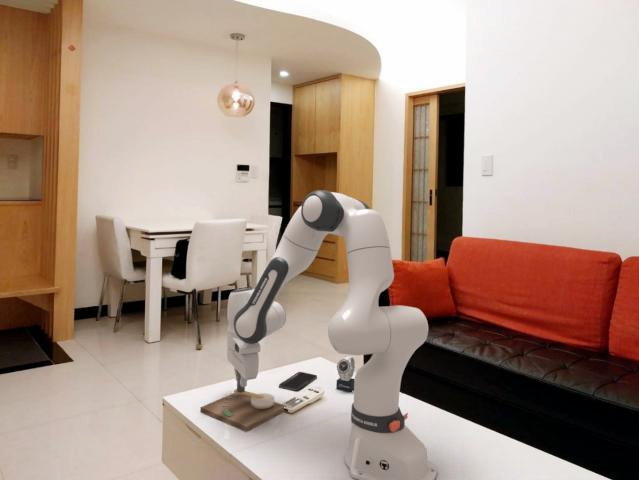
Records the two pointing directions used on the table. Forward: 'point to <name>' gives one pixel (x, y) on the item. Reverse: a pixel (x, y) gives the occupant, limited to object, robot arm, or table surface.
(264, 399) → the dial knob with pointer
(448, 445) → the table surface
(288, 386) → the phone
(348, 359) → the watch
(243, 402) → the gauge panel
